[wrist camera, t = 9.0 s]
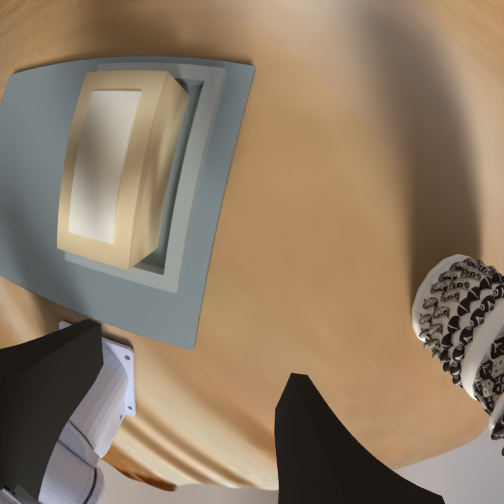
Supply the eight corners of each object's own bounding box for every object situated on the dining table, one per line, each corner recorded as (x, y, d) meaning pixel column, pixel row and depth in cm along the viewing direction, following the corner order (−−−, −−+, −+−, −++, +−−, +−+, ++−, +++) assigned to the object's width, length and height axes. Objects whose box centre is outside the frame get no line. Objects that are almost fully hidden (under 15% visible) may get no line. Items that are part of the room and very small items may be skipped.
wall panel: (195, 344, 20) (187, 365, 18) (-6, 267, 19) (-22, 274, 17) (255, 70, 15) (254, 54, 12) (14, 76, 14) (-3, 72, 11)
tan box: (157, 248, 17) (127, 271, 13) (95, 231, 17) (55, 248, 13) (189, 95, 15) (166, 70, 10) (121, 90, 15) (85, 71, 10)
